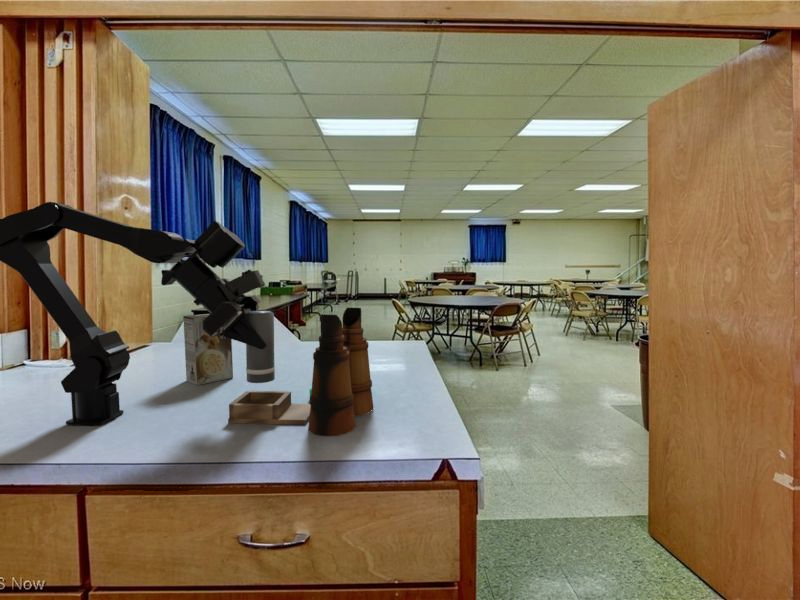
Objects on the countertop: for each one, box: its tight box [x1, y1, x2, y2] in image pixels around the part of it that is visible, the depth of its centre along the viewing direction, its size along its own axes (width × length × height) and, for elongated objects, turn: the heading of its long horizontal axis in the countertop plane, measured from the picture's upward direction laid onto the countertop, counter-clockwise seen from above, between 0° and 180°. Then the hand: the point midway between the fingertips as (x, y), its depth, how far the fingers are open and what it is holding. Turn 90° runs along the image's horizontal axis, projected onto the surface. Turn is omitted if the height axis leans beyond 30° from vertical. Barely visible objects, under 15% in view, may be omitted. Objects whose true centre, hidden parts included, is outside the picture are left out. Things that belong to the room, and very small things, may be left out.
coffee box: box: [183, 313, 234, 386], centre depth 107 cm, size 9×6×16 cm
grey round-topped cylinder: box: [245, 310, 276, 384], centre depth 82 cm, size 5×5×13 cm
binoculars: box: [307, 307, 374, 437], centre depth 81 cm, size 18×8×20 cm, turn 165°
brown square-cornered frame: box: [227, 390, 311, 425], centre depth 82 cm, size 14×9×3 cm, turn 88°
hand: (267, 344), depth 82 cm, fingers closed on grey round-topped cylinder, 5 cm apart
